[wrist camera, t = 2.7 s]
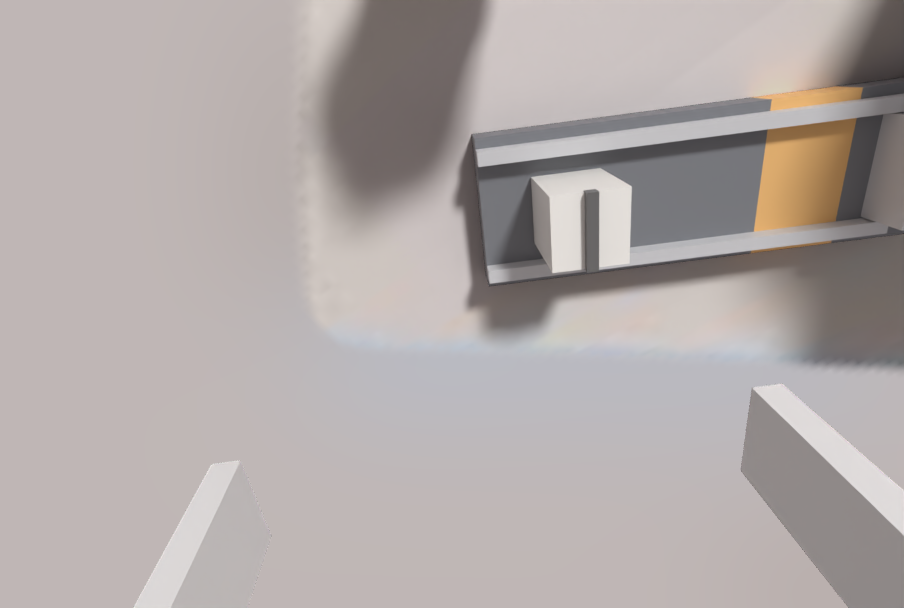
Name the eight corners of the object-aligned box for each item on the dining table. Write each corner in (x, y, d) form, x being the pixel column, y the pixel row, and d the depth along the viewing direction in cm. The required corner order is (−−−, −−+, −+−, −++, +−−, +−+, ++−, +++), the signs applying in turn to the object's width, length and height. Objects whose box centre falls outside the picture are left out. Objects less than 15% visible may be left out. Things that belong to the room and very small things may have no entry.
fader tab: (530, 176, 29) (551, 197, 24) (600, 167, 29) (634, 186, 24) (534, 243, 31) (554, 276, 26) (600, 235, 31) (632, 267, 26)
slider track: (471, 134, 30) (479, 145, 25) (931, 73, 30) (1021, 74, 25) (485, 274, 34) (494, 306, 29) (892, 223, 33) (965, 247, 29)
